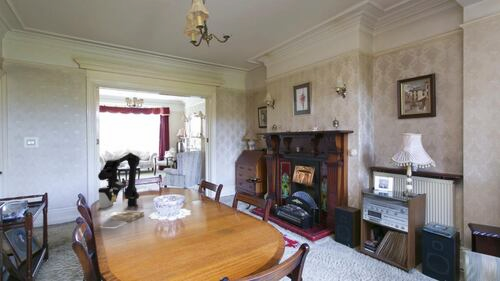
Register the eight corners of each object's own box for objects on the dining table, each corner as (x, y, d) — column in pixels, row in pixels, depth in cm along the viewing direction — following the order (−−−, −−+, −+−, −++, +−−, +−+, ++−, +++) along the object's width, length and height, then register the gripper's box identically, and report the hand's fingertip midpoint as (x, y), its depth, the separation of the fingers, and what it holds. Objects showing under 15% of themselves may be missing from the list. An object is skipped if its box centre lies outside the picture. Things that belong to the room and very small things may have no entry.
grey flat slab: (114, 213, 177) (114, 211, 177) (122, 213, 175) (122, 212, 175) (103, 217, 168) (103, 215, 168) (112, 217, 166) (112, 216, 166)
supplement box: (108, 207, 190) (108, 191, 190) (98, 208, 190) (98, 191, 190) (113, 205, 197) (113, 189, 197) (104, 205, 197) (104, 189, 197)
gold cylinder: (113, 200, 174) (112, 193, 173) (117, 201, 172) (117, 194, 172) (108, 202, 170) (108, 195, 170) (113, 202, 169) (113, 195, 169)
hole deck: (127, 213, 174) (127, 210, 174) (144, 215, 171) (143, 211, 171) (111, 220, 161) (111, 216, 161) (129, 222, 157) (129, 217, 157)
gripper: (111, 180, 160) (111, 204, 160) (132, 176, 178) (132, 197, 178) (97, 180, 163) (98, 203, 163) (119, 175, 181) (119, 196, 181)
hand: (113, 200), depth 171 cm, fingers closed on gold cylinder, 4 cm apart
